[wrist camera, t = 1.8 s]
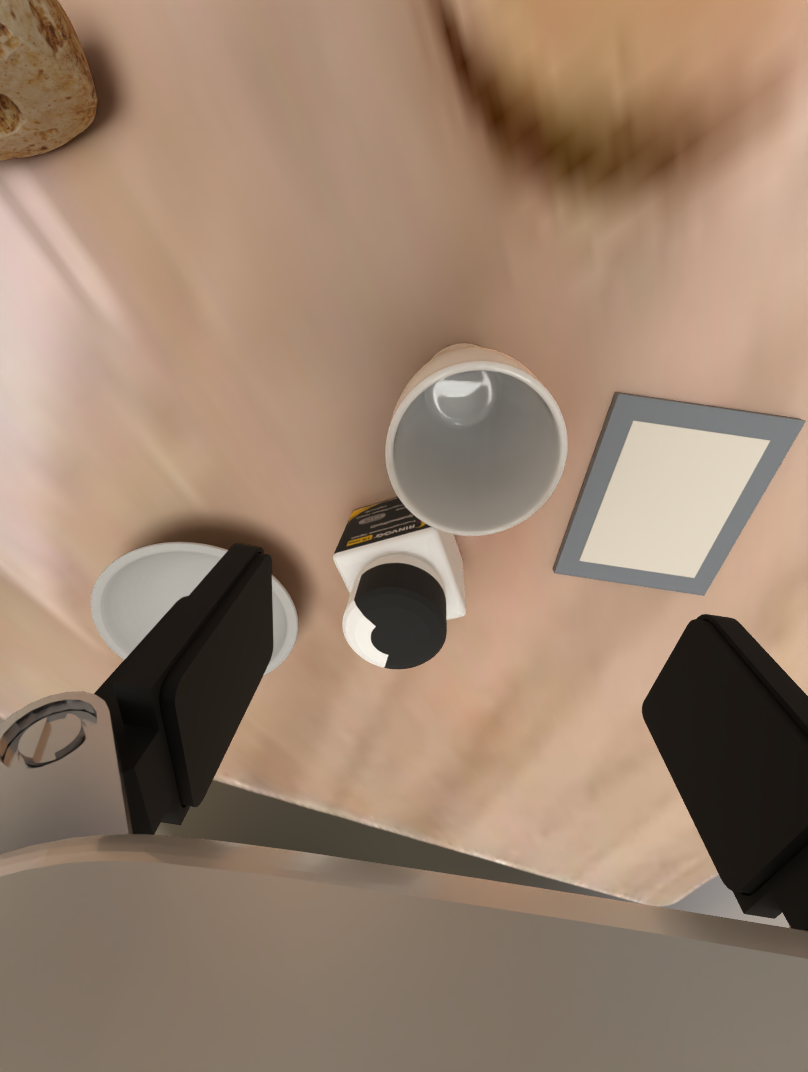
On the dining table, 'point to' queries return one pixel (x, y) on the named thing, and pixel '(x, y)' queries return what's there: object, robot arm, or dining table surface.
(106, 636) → the dish
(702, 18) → the dining table surface
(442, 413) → the drinking glass
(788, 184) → the dining table surface
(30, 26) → the brown thick ring
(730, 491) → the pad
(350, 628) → the medicine bottle
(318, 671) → the dining table surface
